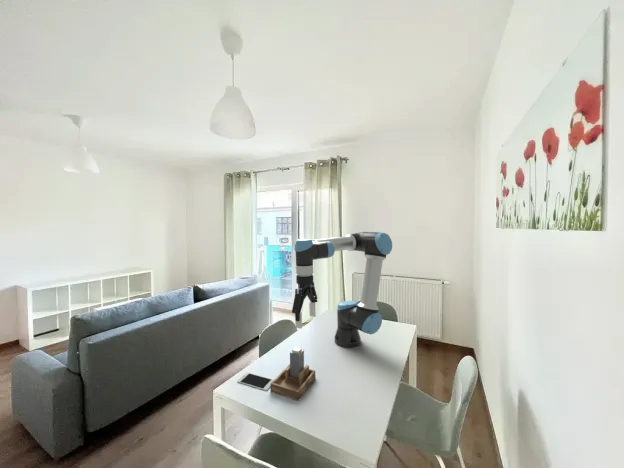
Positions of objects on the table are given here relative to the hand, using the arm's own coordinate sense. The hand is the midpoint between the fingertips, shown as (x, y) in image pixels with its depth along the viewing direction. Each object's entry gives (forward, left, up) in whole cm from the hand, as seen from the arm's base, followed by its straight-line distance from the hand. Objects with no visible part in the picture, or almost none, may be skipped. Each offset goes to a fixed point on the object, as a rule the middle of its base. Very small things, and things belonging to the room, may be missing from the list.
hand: (306, 321), depth 114 cm
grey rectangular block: (+4, -3, -24) cm, 25 cm away
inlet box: (+7, -3, -26) cm, 27 cm away
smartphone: (+12, -19, -26) cm, 34 cm away
